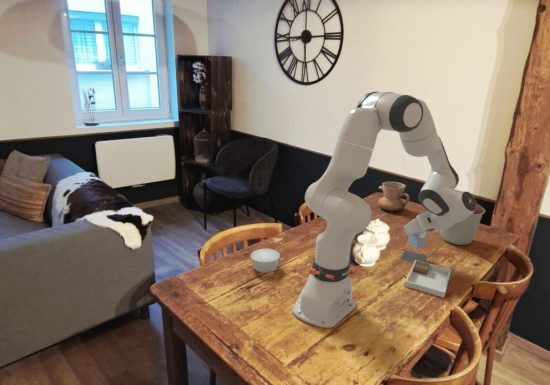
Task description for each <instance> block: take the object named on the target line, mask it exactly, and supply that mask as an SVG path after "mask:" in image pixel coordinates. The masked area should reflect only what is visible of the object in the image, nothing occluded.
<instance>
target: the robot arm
mask: <svg viewBox="0 0 550 385" xmlns="http://www.w3.org/2000/svg"><path fill="white" fill-rule="evenodd" d="M382 130H383V131H392V132H397V133H398V135H399V137H400V141H401V145H402V148H403V149H404V151H405V152H406V154H408V155H409V156H411V157H417V158H421V157H422V158H423V157H427V160H428V162H429V165H430V173H429V175H428V177H427V180H426V181H425V183H424V184H423V185H422V188H421V189H420V191H419V192H418V195H417V198H418V201H419V203H420V205H421V206H422V207H423V208H424V209H425V210H427V211H425V212H422V213H419V214H418V215H416V218H414V219H412V220H411V221H409V222H408V223H406V224H405V225H404V227H403V231H404V232H405V235H407V236H409V235H415V234H419V233H424V232H427V233H428V232H438V233H439V232H442V231H444V230H446V229H448V228H450V227H452V226H453V225H454V224H455V223H458V222H461V221H463V220H464V219H466V218H468V217H469V216H470V215H472V214H473V213H474V212H475V210H476V206H477V204H478V203H477V200H476V198H475V196H474V195H473V194H472V193H471V192H470V191H459V190H455V189H456V188H457V186H458V184H459V181H460V179H459V174H458V172H456V169H455V168H454V167H453V165H452V164H451V163H450V161H449V158H448V155H447V151H446V149H445V146H444V144H443V142H442V140H441V138H440V135H438V132H437V128H436V125H435V122H434V119H433V116H432V114H431V110H430V109H429V107H428V105H427V103H426V102H425V101H423V100H422V99H419V98H416V97H414V96H412V95H409V94H400V93H395V92H393V91H372V92H368V93H366V94H364V95H363V96H362V97H361V98H360V99H359V101H358V102H357V106H356V107H355V108H353V109H351V110H350V111H349V113H348V114H347V116H346V118H345V119H344V122H343V123H342V126H341V129H340V131H339V134H338V137H337V141H336V143H335V147H334V150H333V153H332V156H331V158H330V162H329V164H328V165H327V168H326V170H325V171H324V173H323V174H322V176H321V177H320V178H319V179H318V180H316V181H315V182H312V184H310V185H309V186H308V187H307V189H306V190H305V191H306V192H305V193H304V201H305V204H306V206H307V207H308V208H309V210H311V212H312V213H314V214H315V215H316V216H318V217H320V218H321V219H323V220H325V221H326V229H325V230H324V231H323V232H321V233H320V234H318V235H317V237H316V239H315V250H314V254H315V255H314V257H313V261H312V264H311V267H310V268H309V270H308V274H309V275H308V277H307V280H306V282H305V284H304V286H303V288H302V290H301V292H300V294H299V295H298V298H297V300H296V301H295V303H294V306H293V309H292V314H293V315H294V316H295V317H296V318H298V319H300V320H301V321H303V322H305V323H308V324H310V325H314V326H315V327H316V326H317V327H319V328H330V329H331V328H334V327H335V326H336V325H337V324H338V323H340V321H342V320H343V319H344V318H345V317H346V316H348V314H350V313H351V312H352V311H353V310H355V308H356V307H357V304H356V302H355V301H354V299H353V284H354V283H353V282H352V280H351V277H350V270H351V262H350V257H351V256H350V255H351V249H352V243H353V240H354V238H355V237H356V235H357V234H360V233H361V232H363V231H365V229H367V228H368V227H369V225H370V223H371V221H372V218H373V217H372V216H373V211H372V208H371V206H370V205H369V203H368V202H366V201H365V200H363V199H362V197H360V196H358V195H356V194H354V193H351V192H350V191H349V188H350V187H351V185H352V184H353V182H354V181H356V180H358V179H361V178H363V177H364V176H365V175H366V174H367V170H368V168H369V164H370V162H371V159H372V156H373V152H374V148H375V146H376V142H377V139H378V138H377V137H378V135H379V133H380V132H381V131H382ZM476 203H477V204H476Z"/></svg>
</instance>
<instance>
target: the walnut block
mask: <svg viewBox="0 0 550 385" xmlns="http://www.w3.org/2000/svg"><path fill="white" fill-rule="evenodd" d="M425 262H426V261H425ZM425 262H421V261H417V260H416V262H415V264H414V268H413V272H417V273H420V274H424V275H427V273H428V271H429V266H430V264H431V263H429V262H426V263H425Z"/></svg>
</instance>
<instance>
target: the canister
mask: <svg viewBox="0 0 550 385" xmlns="http://www.w3.org/2000/svg"><path fill="white" fill-rule="evenodd" d="M476 204H477V206H476V210H475V212H474V213H473V214H472V215H470V216H469V217H468V218H466V219H464V220H463V221H461V222H458V223H455V224H454V225H453V226H452V227H450V228H448V229H446V230H444V231H442V232H440V233H439V234H440V236H441V238H442V239H443V241H446V242H447V243H450V244H453V245H458V246H465V245H466V246H467V245H469V244H471V243H472V242H473V240H474V239H475V236H476V233H477V231H478V228H479V225H480V222H481V220H482V217H483V215H484V214H485V213H486V209H485V208H484V207H482V205H480V204H478V203H477V202H476Z"/></svg>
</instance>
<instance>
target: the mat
mask: <svg viewBox="0 0 550 385" xmlns="http://www.w3.org/2000/svg"><path fill="white" fill-rule="evenodd" d="M427 258H428V255H427V254H422V253H418V252H415V251H414V252H413V251H412V250H411V251H410V250H406V249H405V250H404V251H403V253H402V254H401V257H400V258H399V259H400V260H403V261H406V262H410V263H414V261H415V260H418V261H422V262H426V260H427Z"/></svg>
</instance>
